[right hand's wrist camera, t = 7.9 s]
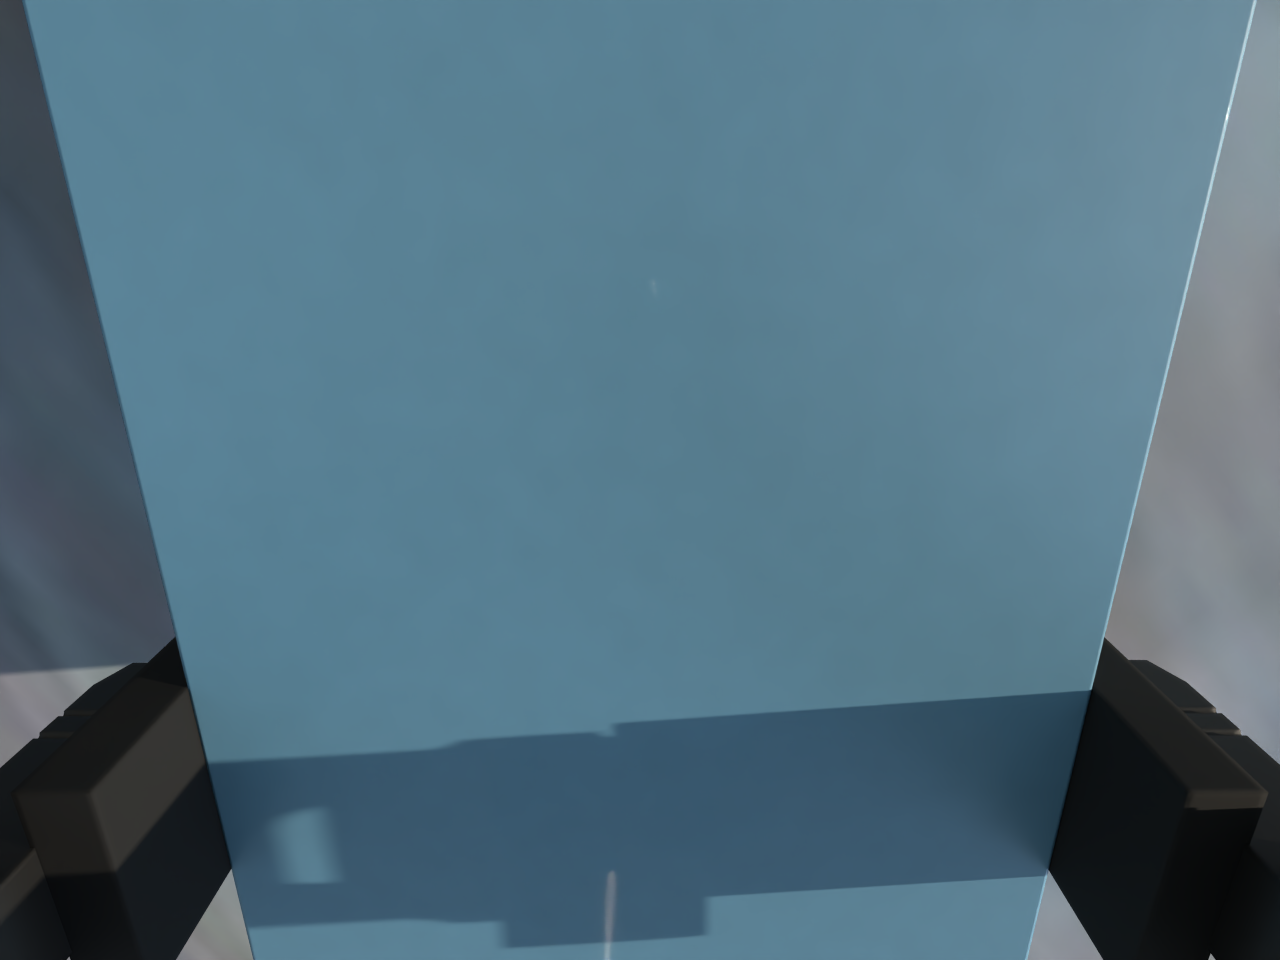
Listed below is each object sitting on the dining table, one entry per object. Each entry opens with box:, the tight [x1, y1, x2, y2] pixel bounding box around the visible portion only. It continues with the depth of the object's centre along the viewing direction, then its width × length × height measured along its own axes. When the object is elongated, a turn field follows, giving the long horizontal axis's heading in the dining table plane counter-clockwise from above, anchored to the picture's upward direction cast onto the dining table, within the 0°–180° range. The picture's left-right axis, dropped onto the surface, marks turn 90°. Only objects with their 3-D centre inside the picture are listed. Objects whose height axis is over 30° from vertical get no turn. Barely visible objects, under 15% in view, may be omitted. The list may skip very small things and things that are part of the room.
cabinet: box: [22, 0, 1257, 960], centre depth 11 cm, size 21×10×10 cm, turn 0°
